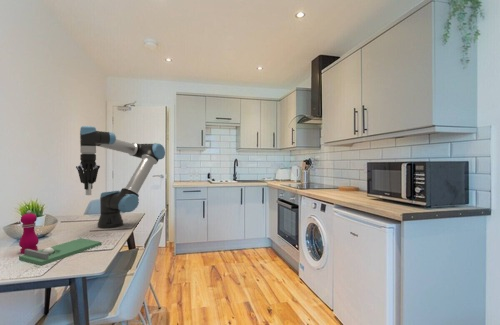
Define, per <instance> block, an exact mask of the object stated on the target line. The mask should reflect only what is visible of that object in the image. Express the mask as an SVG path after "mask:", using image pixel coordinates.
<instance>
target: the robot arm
mask: <svg viewBox="0 0 500 325" xmlns="http://www.w3.org/2000/svg"><path fill="white" fill-rule="evenodd" d="M79 139H80V140H79V142H80V150H79V151H80V153H81V154H80V163H79V164H78V165H77V166H75V168H76V170H77V173H78V177H79V181H80V183H81V184H83V185H84V190H85V196H92V189H93V184H94V183H96V182H97V179H98V172H99V169H100V168H101V166H100V165H99V164H97V162H96V160H97V155H96V153H97V147H99V148H104V149H109V150H113V151H117V152H120V153H125V154H128V155H129V156H131V157H135V158H139V159H141V161H140V162H139V164H138V166H137V167H136V169H135V171H134V173H133V174H132V176H131V177H130V179H129V181H128V182H127V184H126V186H125V187H122V188H121V190H113V191H104V192H101V193H100V198H99V200H100V202H99V203H100V215H99V218H98V222H97V228H99V229H112V228H118V227H121V226H123V225H124V220H123V218H122V214H121V213H131V212H134V211H135V210H136V209H137V208H138V206H139V201H140V199H139V192H140V190H141V188H142V187H143V185H144V183H145V181H146V179H147V177H148V176H149V174H150V172H151V170H152V168H153V166H154V165H157V164H158V162H159V161H160V160H162V159H163V160H164V158H165V156H166V149H165V147H164V145H163V144H161V143H157V142H155V143H136V142H131V143H130V142H126V141H124V140H120V139H117V136H116V134H115V132H110V131H102V130H101V131H99V130H97V128H96V127H95V126H91V125H90V126H89V125H83V126H81V127H80V130H79Z"/></svg>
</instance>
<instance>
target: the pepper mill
mask: <svg viewBox="0 0 500 325" xmlns="http://www.w3.org/2000/svg"><path fill="white" fill-rule="evenodd" d="M37 220H38V216H37V215H36V214H35V213H32V211H31V210H30V209H29V210H27V211H26V214H22V215H21V216H20V223H22V224H21V228H23V231H22V235H21V236H20V240H19V242H18V246H19V247H20V253H21V254H22V255H25V249H31V250H35V251H38V244H39V242H40V240H39V237H38V236H37V233H36V231H35V227H36V221H37Z"/></svg>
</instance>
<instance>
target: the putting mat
mask: <svg viewBox="0 0 500 325" xmlns="http://www.w3.org/2000/svg"><path fill="white" fill-rule="evenodd" d="M98 245H100V246H102V241H98V240H91V239H87V238H77V239H72V240H71V241H67V242H64V243H60V244H57V245H56V244H55V245H52V246H50V247H51V248H53V249H54V252H53V254H51V255H49V253H44V252H43V250H44V249H45V248H42V249H39V250H37V251H35V250H31V249H25V254H22V255H18V260H19V261H21V262H27V263H29V262H30V263H29V264H33V263H34V264H35V265H37V264H38V265H37V266H43V265H48V264H50V263H52V262H55V261H58V260H61V259H64V258H68V257H71V256H73V255H76V254H79V253H81V252H85V251H88V250H91V249H94V248H96V247H95V246H97V247H99V246H98ZM93 247H94V248H93ZM90 248H91V249H90ZM87 249H88V250H87Z"/></svg>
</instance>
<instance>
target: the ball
mask: <svg viewBox="0 0 500 325" xmlns="http://www.w3.org/2000/svg"><path fill="white" fill-rule="evenodd" d="M51 247H52V246H50V247H49V246H48V247H45V248H43V249H44V250H43V252H44V253H49V255H51V254H53V252H54V249H53V248H51Z"/></svg>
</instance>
